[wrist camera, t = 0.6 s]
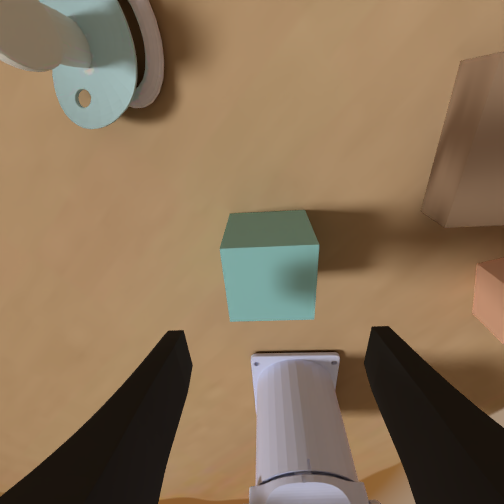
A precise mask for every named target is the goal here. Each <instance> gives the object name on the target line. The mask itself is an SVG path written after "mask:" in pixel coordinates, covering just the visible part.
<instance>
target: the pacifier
mask: <svg viewBox="0 0 504 504" xmlns="http://www.w3.org/2000/svg"><path fill="white" fill-rule="evenodd" d="M128 2H129V3H130V5H131V7H132V9H133V11H134V14H135V16H136V19H137V21H138V23H139V27H140V30H141V34H142V37H143V42H144V48H145V72H144V77H143V80H142V82H141V83H140V85H139V87H137V88H136V84H137V58H136V51H135V46H134V42H133V38H132V35H131V31H130V28H129V26H128V23H127V20H126V18H125V15H124V13H123V11H122V8H121V6H120V4H119V2H118V0H0V60H1V61H3V62H5V63H7V64H9V65H11V66H14V67H16V68H19V69H23V70H26V71H34V72H43V71H49V70H52V69H53V81H54V87H55V91H56V95H57V98H58V100H59V103H60V105H61V107H62V109H63V110H64V112H65V114H66V115H67V116H68V117H69V118H70V119H71V121H73V122H74V123H75V124H77V125H78V126H81V127H83V128H87V129H97V128H102V127H105V126H108V125H110V124H111V123H113V122H115V121H116V120H117V119H118V118H119V117H121V115H122V114H123V113H124V112H125V111H126V110H127V108H128V107H132V108H145V107H146V106H148V105H150V104H151V103H153V102H154V100H155V99H156V97H157V96H158V94H159V92H160V89H161V86H162V82H163V75H164V56H163V46H162V40H161V36H160V32H159V28H158V24H157V20H156V18H155V15H154V13H153V10H152V7H151V5H150V2H149V0H128ZM84 89H86V90H87V91H88V92H89V93H90V95H91V103H90V105H89V106H88V107H86V108H84V107H82V106H81V105H80V103H79V100H78V96H79V93H80V92H81V91H82V90H84Z"/></svg>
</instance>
